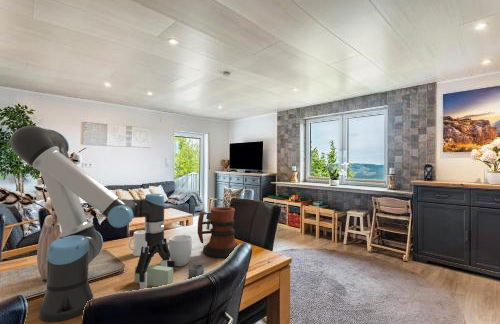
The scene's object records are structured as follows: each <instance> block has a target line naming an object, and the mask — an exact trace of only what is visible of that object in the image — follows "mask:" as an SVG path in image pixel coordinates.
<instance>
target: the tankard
mask: <svg viewBox="0 0 500 324" xmlns="http://www.w3.org/2000/svg"><path fill="white" fill-rule="evenodd" d="M235 211H236V209H235V208H234V207H228V206H217V207H216V206H215V207H211V208H210V215H211V216H210V217H211V219H210V221H204V217H205V211H203V210H202V211H199V214H198V215H199V216H198V219H197V236H198V238H199V241H200V243H201V244H204V237H203V236H204V235H206V234H207V235H208V234H211V235H210V238H209V241H208V242H207V243H206V245H204V246H203V248H202V255H204V256H205V257H207V258H212V259H215V260H216V259H219V260H220V259H226V258H227V257H228V256H229V254H230V253H231V252H232V251H233V250H234V248H235V247H236V246H237V245H239V244H238V243H237V242H236V239H235V228H233V226H234V225H235V219H234V217H235ZM204 225H212V228H210V229H209V230H204V229H203V227H204ZM227 259H228V258H227Z"/></svg>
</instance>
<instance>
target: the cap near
mask: <svg viewBox="0 0 500 324" xmlns="http://www.w3.org/2000/svg"><path fill="white" fill-rule="evenodd" d="M204 268H205V265H204V264H200V263H194V268H190V267H189V268H188V279H192V277H196V276H199V275H202V274H203V275H204V273H205V271H204V270H205V269H204ZM203 275H202V276H203Z"/></svg>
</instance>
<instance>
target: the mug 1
mask: <svg viewBox="0 0 500 324" xmlns="http://www.w3.org/2000/svg"><path fill="white" fill-rule="evenodd" d="M145 232H146V231H145V229H143V230H142V229H140V230H136V231H134V232H133V236H131V238H130V240H129V242H128V248H129V250H131V251H133V252H132V255H133V256H135V257H140V254H141V248H142V247H147V242H146V241H145ZM132 241H133V248H132V247H131V242H132ZM148 254H149V253H148Z"/></svg>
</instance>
